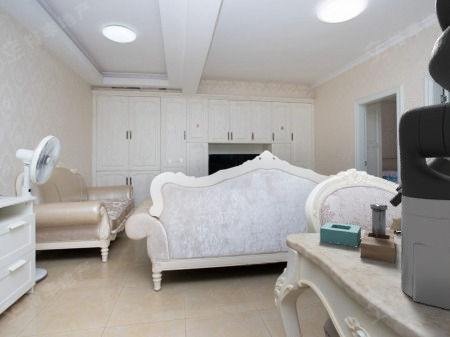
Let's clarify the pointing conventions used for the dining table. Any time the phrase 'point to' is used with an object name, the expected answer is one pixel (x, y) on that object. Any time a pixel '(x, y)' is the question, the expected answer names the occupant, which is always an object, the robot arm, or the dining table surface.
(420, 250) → the robot arm
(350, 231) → the holder
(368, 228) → the beam
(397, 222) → the decorative ornament
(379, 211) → the axle
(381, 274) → the dining table surface
